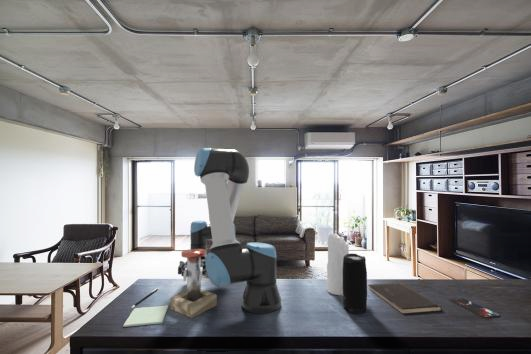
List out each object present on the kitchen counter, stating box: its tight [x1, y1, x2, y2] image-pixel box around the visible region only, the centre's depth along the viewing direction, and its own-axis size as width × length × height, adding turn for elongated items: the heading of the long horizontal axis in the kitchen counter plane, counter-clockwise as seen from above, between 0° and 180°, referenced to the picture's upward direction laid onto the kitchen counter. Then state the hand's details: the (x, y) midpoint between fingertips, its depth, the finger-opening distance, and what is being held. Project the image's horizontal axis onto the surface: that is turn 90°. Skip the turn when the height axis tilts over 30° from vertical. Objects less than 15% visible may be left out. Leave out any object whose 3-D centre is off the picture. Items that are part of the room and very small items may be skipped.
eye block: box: [170, 289, 218, 319], centre depth 101 cm, size 12×12×4 cm
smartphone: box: [448, 297, 501, 319], centre depth 100 cm, size 7×1×15 cm
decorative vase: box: [325, 232, 350, 296], centre depth 117 cm, size 11×11×25 cm
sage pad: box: [123, 305, 169, 328], centre depth 94 cm, size 12×12×1 cm
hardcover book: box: [367, 282, 442, 314], centre depth 108 cm, size 16×23×2 cm
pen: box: [131, 287, 160, 309], centre depth 110 cm, size 1×19×1 cm, turn 172°
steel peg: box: [181, 248, 207, 302], centre depth 102 cm, size 9×9×18 cm
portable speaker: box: [342, 253, 368, 315], centre depth 99 cm, size 9×9×20 cm
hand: (192, 276), depth 97 cm, fingers closed on steel peg, 5 cm apart
